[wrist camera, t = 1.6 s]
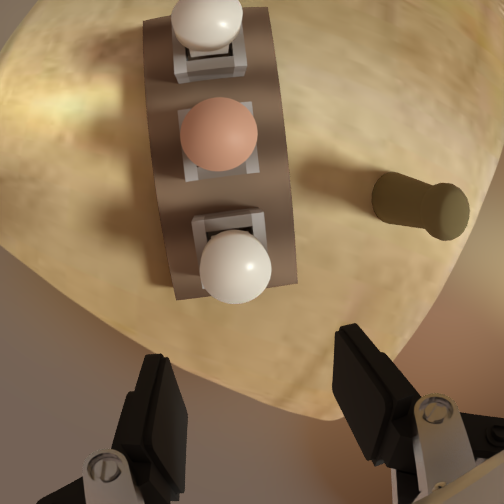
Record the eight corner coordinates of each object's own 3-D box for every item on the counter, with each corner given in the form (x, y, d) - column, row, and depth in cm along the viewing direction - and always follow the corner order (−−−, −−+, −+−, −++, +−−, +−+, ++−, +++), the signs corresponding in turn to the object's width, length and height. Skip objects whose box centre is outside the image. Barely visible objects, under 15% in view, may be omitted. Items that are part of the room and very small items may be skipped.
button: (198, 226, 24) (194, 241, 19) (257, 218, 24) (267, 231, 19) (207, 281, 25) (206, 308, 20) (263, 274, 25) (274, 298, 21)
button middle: (184, 115, 21) (176, 103, 16) (245, 108, 21) (253, 93, 17) (191, 174, 22) (184, 176, 18) (252, 166, 23) (261, 166, 18)
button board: (148, 32, 23) (136, 7, 17) (263, 19, 24) (273, -8, 18) (179, 288, 31) (172, 314, 25) (290, 272, 32) (306, 295, 26)
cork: (363, 209, 31) (424, 231, 20) (384, 162, 30) (450, 166, 19) (400, 232, 32) (461, 259, 22) (419, 188, 31) (485, 201, 20)
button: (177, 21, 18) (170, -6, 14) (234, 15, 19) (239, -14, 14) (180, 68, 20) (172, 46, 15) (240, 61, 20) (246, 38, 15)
